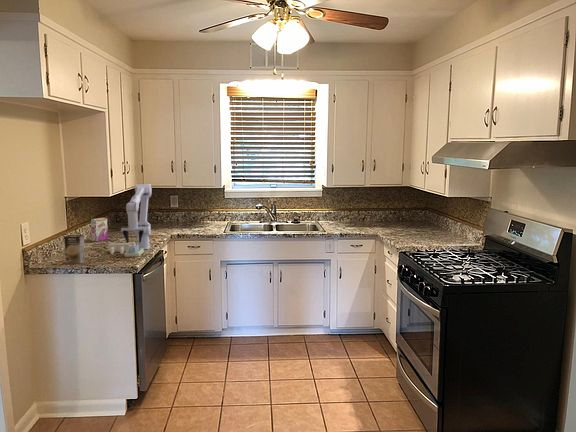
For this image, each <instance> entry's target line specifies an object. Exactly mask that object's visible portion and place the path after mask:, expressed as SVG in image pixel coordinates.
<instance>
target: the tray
mask: <svg viewBox="0 0 576 432" xmlns="http://www.w3.org/2000/svg"><path fill="white" fill-rule="evenodd" d="M144 250H145V249H144V248H139V252H138V253H129V250H128V251H125V252H124V258H139V257H140V256H141V255H142V254H143V253H144V252H145V251H144Z"/></svg>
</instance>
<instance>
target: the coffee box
mask: <svg viewBox="0 0 576 432" xmlns="http://www.w3.org/2000/svg"><path fill="white" fill-rule="evenodd" d="M64 252H65V254H64V255H65V264H83V263H85V261H86V260H85V259H86V256H85V254H86V252H85V236H84V234H68V235H66V236H64Z"/></svg>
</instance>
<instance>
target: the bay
mask: <svg viewBox="0 0 576 432" xmlns="http://www.w3.org/2000/svg"><path fill="white" fill-rule="evenodd" d="M107 246H108V252H109V253H110V254H111V255H112V254H114V253H116V252H118V253H119V254H120V255H121V254H124V253H125V252H127V251H128V250H129V248H130V247H131V244H130V242H128V243H127V242H125V243H122V242H121V243H119V242H118V243H108V245H107ZM124 251H125V252H124Z"/></svg>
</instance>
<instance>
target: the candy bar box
mask: <svg viewBox="0 0 576 432" xmlns="http://www.w3.org/2000/svg"><path fill="white" fill-rule="evenodd" d="M108 224H109V223H108V218H107V217H100V218H99V217H98V218H91V219H90V228H91V233H90V234H91V242H101V241H106V240H109V231H108V230H109V229H108Z"/></svg>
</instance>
